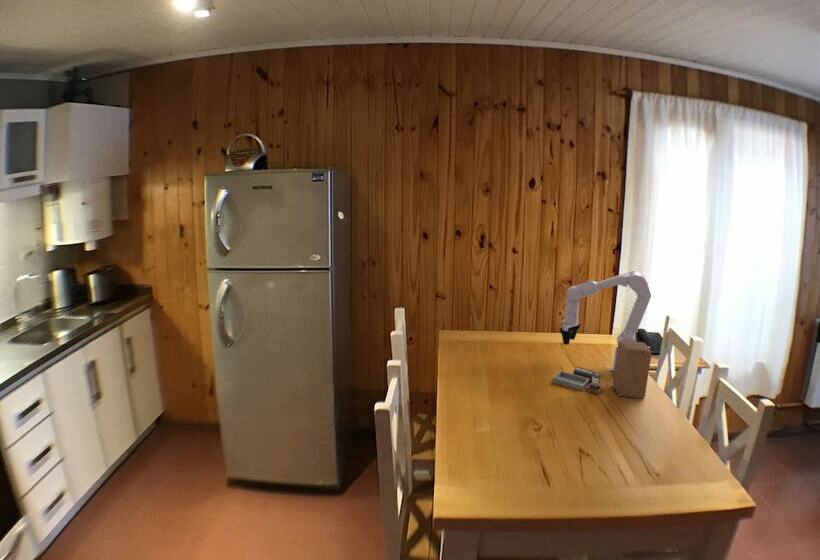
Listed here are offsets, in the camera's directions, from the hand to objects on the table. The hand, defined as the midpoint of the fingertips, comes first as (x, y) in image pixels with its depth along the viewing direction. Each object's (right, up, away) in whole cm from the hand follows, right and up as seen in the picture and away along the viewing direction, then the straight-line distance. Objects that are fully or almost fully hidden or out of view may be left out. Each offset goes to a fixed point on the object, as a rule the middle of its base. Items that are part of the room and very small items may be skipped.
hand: (568, 341), depth 204 cm
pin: (+2, -16, -24) cm, 29 cm away
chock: (+2, -14, -14) cm, 20 cm away
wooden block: (+15, -17, -25) cm, 34 cm away
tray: (-5, -15, -18) cm, 24 cm away
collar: (+2, -16, -24) cm, 29 cm away
